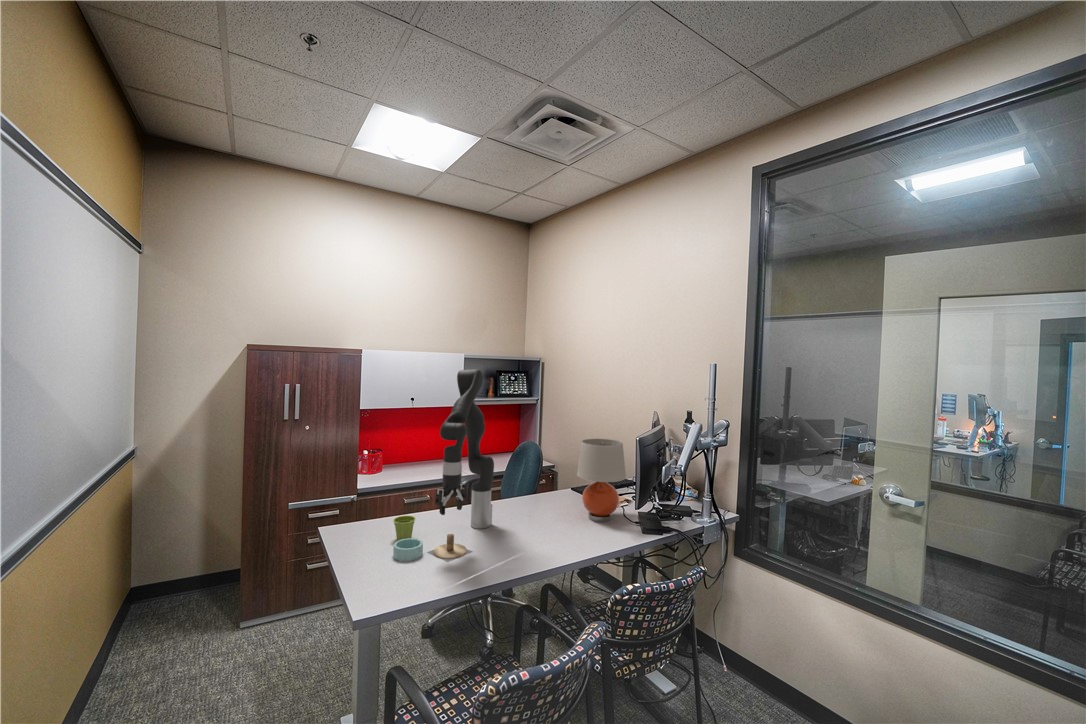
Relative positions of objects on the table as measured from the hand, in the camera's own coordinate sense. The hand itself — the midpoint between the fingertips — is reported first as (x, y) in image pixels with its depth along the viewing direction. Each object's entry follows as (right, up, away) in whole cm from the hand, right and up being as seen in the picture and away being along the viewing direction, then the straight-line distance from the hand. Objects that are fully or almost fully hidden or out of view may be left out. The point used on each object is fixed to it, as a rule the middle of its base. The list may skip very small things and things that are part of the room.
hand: (450, 512), depth 186 cm
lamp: (+66, -19, +48) cm, 84 cm away
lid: (0, -16, 0) cm, 16 cm away
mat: (0, -17, 0) cm, 17 cm away
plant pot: (-23, -16, +13) cm, 31 cm away
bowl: (-16, -16, -4) cm, 23 cm away
